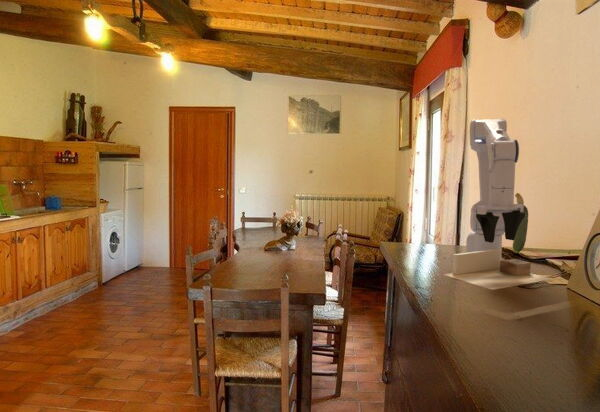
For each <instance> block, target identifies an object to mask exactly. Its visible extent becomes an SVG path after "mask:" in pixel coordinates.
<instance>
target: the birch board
mask: <svg viewBox="0 0 600 412" xmlns="http://www.w3.org/2000/svg"><path fill="white" fill-rule="evenodd" d="M443 276H447V277H449V278H453V279H456V280H459V281H463V282H465V283H468V284H472V285H475V286H478V287H480V288H481V287H482V288H484V289H488V290H490V291H495V290H500V289H505V288H511V287H515V286H522V285H526V284H527V285H528V284H533V283H537V282H538V283H539V282H545V281H550V280H553V278H552V277H547V276H542V275H539V274H534V273H531V272H530V274H528V275H522V276H513V275H510V274H506V273H502V272H500V268H495V269H489V270H482V271H475V272H469V273H462V274H453V272H450V273H444V274H443Z"/></svg>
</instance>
